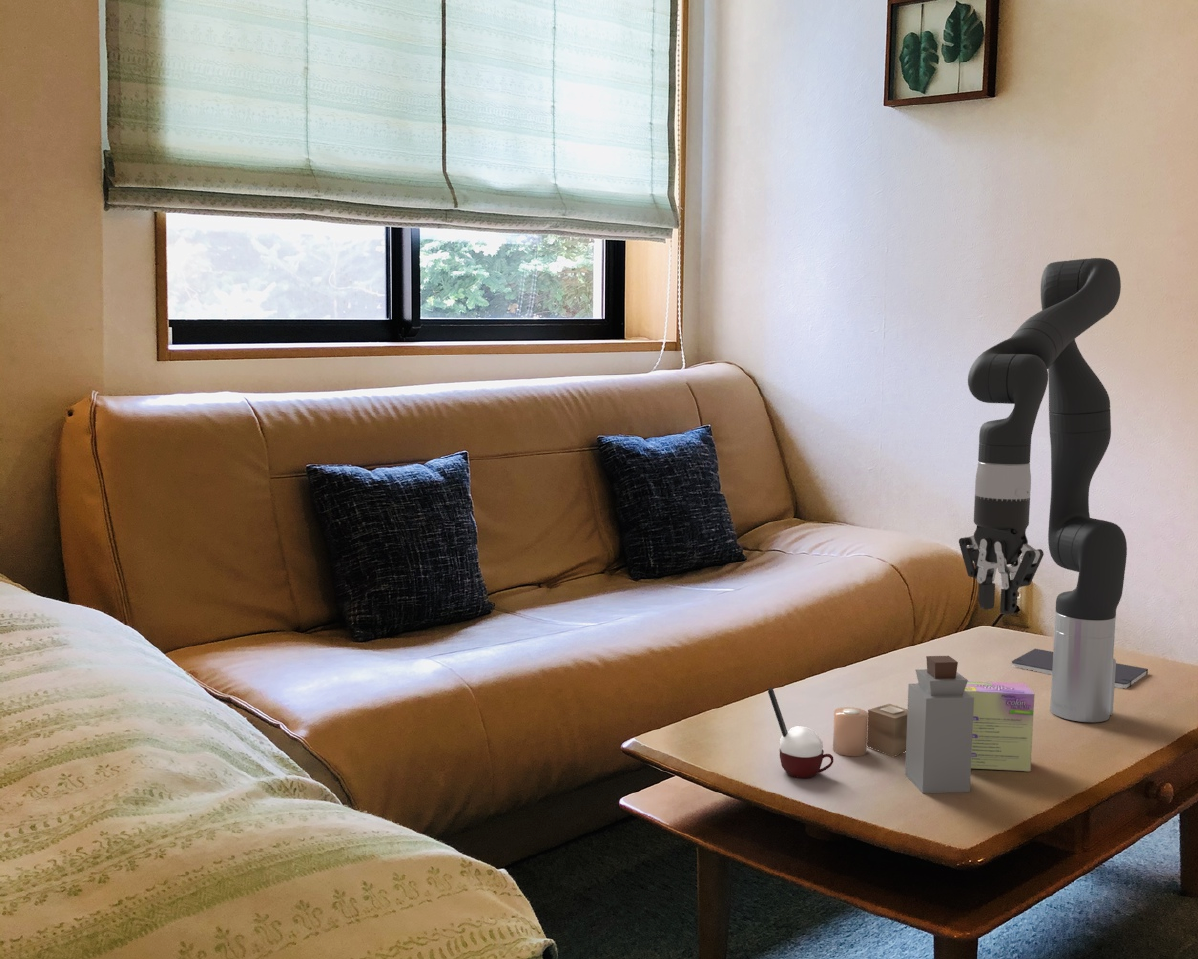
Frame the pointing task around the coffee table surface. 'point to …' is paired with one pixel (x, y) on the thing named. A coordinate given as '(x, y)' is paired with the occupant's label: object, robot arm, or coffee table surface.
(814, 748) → the cocoa
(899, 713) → the walnut block
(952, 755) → the perfume bottle
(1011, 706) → the box
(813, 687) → the coffee table surface
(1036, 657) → the notebook
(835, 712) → the terracotta cylinder
